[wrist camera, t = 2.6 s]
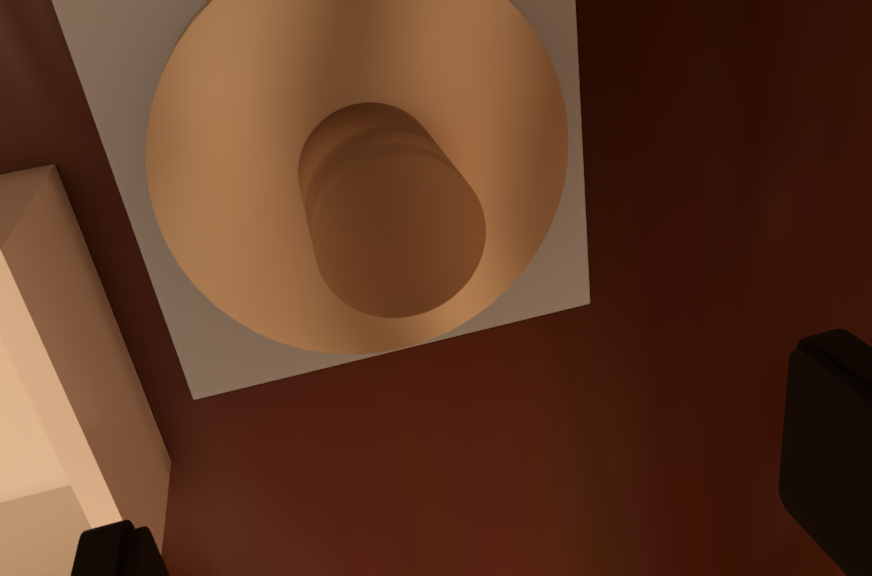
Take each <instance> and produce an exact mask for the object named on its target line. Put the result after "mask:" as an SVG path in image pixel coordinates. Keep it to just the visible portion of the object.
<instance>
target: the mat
mask: <svg viewBox="0 0 872 576" xmlns="http://www.w3.org/2000/svg"><path fill="white" fill-rule="evenodd" d="M208 1H209V0H52V3H53V5H54V8H55V11H56V14H57V17H58V20H59V22H60V25H61V28H62V31H63V34H64V36H65V39H66V42H67V45H68V48H69V50H70V53H71V56H72V59H73V62H74V65H75V67H76V70H77V73H78V76H79V79H80V81H81V84H82V87H83V90H84V93H85V96H86V98H87V101H88V104H89V107H90V110H91V112H92V115H93V118H94V121H95V124H96V127H97V129H98V132H99V135H100V138H101V141H102V143H103V146H104V149H105V152H106V155H107V157H108V160H109V163H110V166H111V169H112V172H113V174H114V177H115V180H116V183H117V186H118V188H119V191H120V194H121V197H122V200H123V203H124V205H125V208H126V211H127V214H128V217H129V219H130V222H131V225H132V228H133V231H134V234H135V236H136V239H137V242H138V245H139V248H140V250H141V253H142V256H143V259H144V262H145V264H146V267H147V270H148V273H149V276H150V279H151V281H152V284H153V287H154V290H155V293H156V295H157V298H158V301H159V304H160V307H161V310H162V312H163V315H164V318H165V321H166V324H167V326H168V329H169V332H170V335H171V338H172V341H173V343H174V346H175V349H176V352H177V355H178V357H179V360H180V363H181V366H182V369H183V371H184V374H185V377H186V380H187V383H188V386H189V388H190V391H191V394H192V397H193V400H195V399H199V398H204V397H208V396H212V395H216V394H220V393H224V392H228V391H232V390H236V389H241V388H245V387H249V386H253V385H257V384H261V383H265V382H269V381H273V380H278V379H282V378H286V377H290V376H294V375H298V374H302V373H306V372H310V371H315V370H319V369H323V368H327V367H331V366H335V365H339V364H343V363H347V362H352V361H356V360H360V359H364V358H368V357H372V356H376V355H380V354H384V353H389V352H393V351H397V350H401V349H397V350H391V351H386V352H380V353H369V354H355V355H352V354H329V353H323V352H316V351H310V350H304V349H301V348H297V347H294V346H290V345H286V344H283V343H280V342H277V341H275V340H273V339H270V338H268V337H265V336H263V335H261V334H258V333H256V332H254V331H253V330H251V329H249V328H247V327H246V326H244V325H242V324H240V323H239V322H237V321H235V320H234V319H233V318H231V317H230V316H228V315H227V314H226V313H224V312H223V311H222V310H220V309H219V308H218V307H216V306H215V305H214V304H213V303H212V302H211V301H210V300H209V299H208V298H207V297H206V296H205V295H204V294H203V293H202V292H201V291H200V290H199V289H198V288H196V286H195V285H194V284H193V283H192V281H191V280H190V279H189V277H188V276H187V275H186V274H185V272H184V271H183V270H182V269H181V267H180V266H179V264H178V263H177V261H176V259H175V258H174V256H173V254H172V252H171V251H170V249H169V247H168V246H167V244H166V242H165V239H164V237H163V235H162V232H161V230H160V228H159V225H158V223H157V220H156V218H155V214H154V210H153V206H152V203H151V199H150V195H149V191H148V182H147V174H146V165H145V156H146V132H147V126H148V121H149V115H150V109H151V104H152V101H153V98H154V95H155V92H156V89H157V86H158V83H159V80H160V77H161V74H162V72H163V69H164V67H165V64H166V62H167V60H168V58H169V56H170V54H171V52H172V50H173V48H174V46H175V44H176V42H177V40H178V39H179V37H180V36H181V34H182V33H183V31H184V30H185V29H186V27H187V26H188V24H189V23H190V21H191V20H192V18H193V17H194V16H195V15H196V13H197V12H198V11H199V10H200V9H201V8H202V7H203V6H204V5H205V4H206V3H207V2H208ZM508 1H509V2H510V3H511V4H512V5H513V6H514V7H515V8H517V10H518V11H519V12H520V13H521V15H522V16H523V17H524V18H525V20H526V21H527V22H528V23H529V25H530V26H531V27H532V28H533V30H534V31H535V33H536V34H537V36H538V38H539V40H540V41H541V43H542V45H543V46H544V48H545V50H546V52H547V53H548V55H549V58H550V60H551V62H552V65H553V67H554V70H555V72H556V74H557V77H558V79H559V83H560V87H561V91H562V94H563V98H564V102H565V107H566V115H567V123H568V162H567V170H566V178H565V183H564V187H563V191H562V195H561V199H560V203H559V206H558V209H557V211H556V214H555V216H554V219H553V221H552V224H551V226H550V229H549V231H548V233H547V234H546V236H545V238H544V240H543V242H542V244H541V246H540V248H539V249H538V251H537V252H536V254H535V255H534V257H533V258H532V260H531V261H530V263H529V264H528V265H527V267H526V268H525V270H524V271H523V272H522V273H521V274H520V276H519V277H518V278H517V279H516V280H515V281H514V282H513V284H512V285H511V286H510V287H509V288H508V289H507V290H506V291H505V292H504V293H503V294H502V295H500V296H499V297H498V298H497V299H496V300H495V301H494V302H493V303H492V304H491V305H489V306H488V307H487V308H485V309H484V310H482V311H481V312H480V313H478V314H477V315H476V316H474V317H473V318H471V319H470V320H468V321H467V322H465V323H463V324H461V325H459V326H458V327H456V328H454V329H452V330H451V331H449V332H447V333H444V334H442V335H440V336H437V337H435V338H433V339H430V340H428V341H425V342H422V343H419V344H415V345H412V346H409V347H413V346H417V345H421V344H426V343H430V342H434V341H438V340H442V339H446V338H450V337H454V336H458V335H463V334H467V333H471V332H475V331H479V330H483V329H487V328H491V327H495V326H500V325H504V324H508V323H512V322H516V321H520V320H524V319H528V318H532V317H537V316H541V315H545V314H549V313H553V312H557V311H561V310H565V309H569V308H573V307H578V306H582V305H586V304H590V291H589V270H588V250H587V229H586V209H585V188H584V168H583V147H582V127H581V106H580V86H579V65H578V45H577V24H576V4H575V0H508ZM409 347H406V348H409ZM402 349H405V348H402Z"/></svg>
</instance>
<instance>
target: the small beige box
mask: <svg viewBox="0 0 872 576" xmlns="http://www.w3.org/2000/svg"><path fill="white" fill-rule="evenodd" d="M170 467H171V460H170V457H169V455H168V452H167V449H166V447H165V444H164V442H163V439H162V437H161V434H160V432H159V429H158V426H157V424H156V421H155V419H154V416H153V414H152V411H151V408H150V406H149V403H148V401H147V398H146V396H145V393H144V391H143V388H142V385H141V383H140V380H139V378H138V375H137V373H136V370H135V368H134V365H133V362H132V360H131V357H130V355H129V352H128V350H127V347H126V344H125V342H124V339H123V337H122V334H121V332H120V329H119V327H118V324H117V321H116V319H115V316H114V314H113V311H112V309H111V306H110V304H109V301H108V298H107V296H106V293H105V291H104V288H103V286H102V283H101V280H100V278H99V275H98V273H97V270H96V268H95V265H94V263H93V260H92V257H91V255H90V252H89V250H88V247H87V245H86V242H85V240H84V237H83V234H82V232H81V229H80V227H79V224H78V222H77V219H76V216H75V214H74V211H73V209H72V206H71V204H70V201H69V199H68V196H67V193H66V191H65V188H64V186H63V183H62V181H61V178H60V176H59V173H58V170H57V168H56V165H55V164H51V165H46V166H41V167H36V168H30V169H25V170H20V171H15V172H10V173H5V174H0V576H71V572H72V567H73V563H74V559H75V554H76V550H77V546H78V541H79V538H80V535H81V533H82V532H83V531H85V530H89V529H93V528H96V527H100V526H104V525H107V524H111V523H115V522H119V521H122V520H130V521H131V522H132V523H133V525H134V527H135V529H136V528H140V527H143V526H147V527H148V528H149V529H150V531H151V533H152V535H153V538H154V540H155V542H156V545H157V547H158V549H159V552H160V554H161V553H162V543H163V534H164V524H165V515H166V505H167V496H168V486H169V477H170Z"/></svg>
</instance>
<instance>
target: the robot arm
mask: <svg viewBox="0 0 872 576" xmlns="http://www.w3.org/2000/svg"><path fill="white" fill-rule="evenodd" d="M779 494H780V498H781V500H782V503H783V505H784V506H785V508H786V510H787V511H788V512H789V513H790V515H791V516H792V517H793V518H794V519H795V520H796V521H797V522H798V523H799V524H800V525H801V526H802V527H803V529H804V530H805V531H806V532H807V533H808V534H809V535H810V536H811V537H812V538H813V539H814V540H815V541H816V543H817V544H818V545H819V546H820V547H821V548H822V549H823V550H824V551H825V552H826V553H827V554H828V556H829V557H830V558H831V559H832V560H833V561H834V562H835V563H836V564H837V565H838V566H839V567H840V568H841V570H842V571H843V572H844V573H845V574H846V575H847V576H872V347H870V346H869V345H867V344H866V343H865V342H863V341H862V340H860V339H859V338H857V337H856V336H854V335H853V334H851V333H850V332H848V331H846V330H844V329H834V330H831V331H827V332H823V333H820V334H816V335H812V336H808V337H805V338H803V339H801V340H800V342H799V343H798V345H797V349H796V350H795V351H793V352H792V353H791V355H790V358H789V366H788V378H787V390H786V403H785V415H784V427H783V440H782V452H781V464H780V477H779ZM71 576H169V573H168V571H167V568H166V566H165V564H164V561H163V559H162V557H161V554H160V552H159V549H158V547H157V545H156V542H155V540H154V538H153V535H152V533H151V531H150V529H149V528H148V527H147V526H143V527H140V528H136V529H135V527H134V525H133V523H132V522H131V521H130V520H122V521H119V522H115V523H111V524H107V525H104V526H100V527H96V528H93V529H89V530H85V531H83V532H82V533H81V535H80V538H79V541H78V546H77V550H76V554H75V559H74V563H73V567H72V572H71Z"/></svg>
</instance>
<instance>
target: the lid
mask: <svg viewBox="0 0 872 576" xmlns="http://www.w3.org/2000/svg"><path fill="white" fill-rule="evenodd" d="M567 162H568V123H567V115H566V107H565V102H564V98H563V94H562V91H561V87H560V83H559V79H558V77H557V74H556V72H555V70H554V67H553V65H552V62H551V60H550V58H549V55H548V53H547V52H546V50H545V48H544V46H543V45H542V43H541V41H540V40H539V38H538V36H537V34H536V33H535V31H534V30H533V28H532V27H531V26H530V25H529V23H528V22H527V21H526V20H525V18H524V17H523V16H522V15H521V13H520V12H519V11H518V10H517V8H515V7H514V6H513V5H512V4H511V3H510V2H509V1H508V0H209V1H208V2H207V3H206V4H205V5H204V6H203V7H202V8H201V9H200V10H199V11H198V12H197V13H196V15H195V16H194V17H193V18H192V20H191V21H190V23H189V24H188V26H187V27H186V29H185V30H184V31H183V33H182V34H181V36H180V37H179V39H178V40H177V42H176V44H175V46H174V48H173V50H172V52H171V54H170V56H169V58H168V60H167V62H166V64H165V67H164V69H163V72H162V74H161V77H160V80H159V83H158V86H157V89H156V92H155V95H154V98H153V101H152V104H151V109H150V115H149V121H148V126H147V132H146V156H145V165H146V174H147V182H148V191H149V195H150V199H151V203H152V206H153V210H154V214H155V218H156V220H157V223H158V225H159V228H160V230H161V232H162V235H163V237H164V239H165V242H166V244H167V246H168V247H169V249H170V251H171V252H172V254H173V256H174V258H175V259H176V261H177V263H178V264H179V266H180V267H181V269H182V270H183V271H184V272H185V274H186V275H187V276H188V277H189V279H190V280H191V281H192V283H193V284H194V285H195V286H196V288H198V289H199V290H200V291H201V292H202V293H203V294H204V295H205V296H206V297H207V298H208V299H209V300H210V301H211V302H212V303H213V304H214V305H215V306H216V307H218V308H219V309H220V310H222V311H223V312H224V313H226V314H227V315H228V316H230V317H231V318H233V319H234V320H235V321H237V322H239V323H240V324H242V325H244V326H246V327H247V328H249V329H251V330H253V331H254V332H256V333H258V334H261V335H263V336H265V337H268V338H270V339H273V340H275V341H277V342H280V343H283V344H286V345H290V346H294V347H297V348H301V349H304V350H310V351H316V352H323V353H329V354H352V355H355V354H369V353H380V352H386V351H391V350H397V349H402V348H406V347H409V346H412V345H415V344H419V343H422V342H425V341H428V340H430V339H433V338H435V337H437V336H440V335H442V334H444V333H447V332H449V331H451V330H452V329H454V328H456V327H458V326H459V325H461V324H463V323H465V322H467V321H468V320H470V319H471V318H473V317H474V316H476V315H477V314H478V313H480V312H481V311H482V310H484V309H485V308H487V307H488V306H489V305H491V304H492V303H493V302H494V301H495V300H496V299H497V298H498V297H499V296H500V295H502V294H503V293H504V292H505V291H506V290H507V289H508V288H509V287H510V286H511V285H512V284H513V282H514V281H515V280H516V279H517V278H518V277H519V276H520V274H521V273H522V272H523V271H524V270H525V268H526V267H527V265H528V264H529V263H530V261H531V260H532V258H533V257H534V255H535V254H536V252H537V251H538V249H539V248H540V246H541V244H542V242H543V240H544V238H545V236H546V234H547V233H548V231H549V229H550V226H551V224H552V221H553V219H554V216H555V214H556V211H557V209H558V206H559V203H560V199H561V195H562V191H563V187H564V183H565V178H566V170H567Z"/></svg>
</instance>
